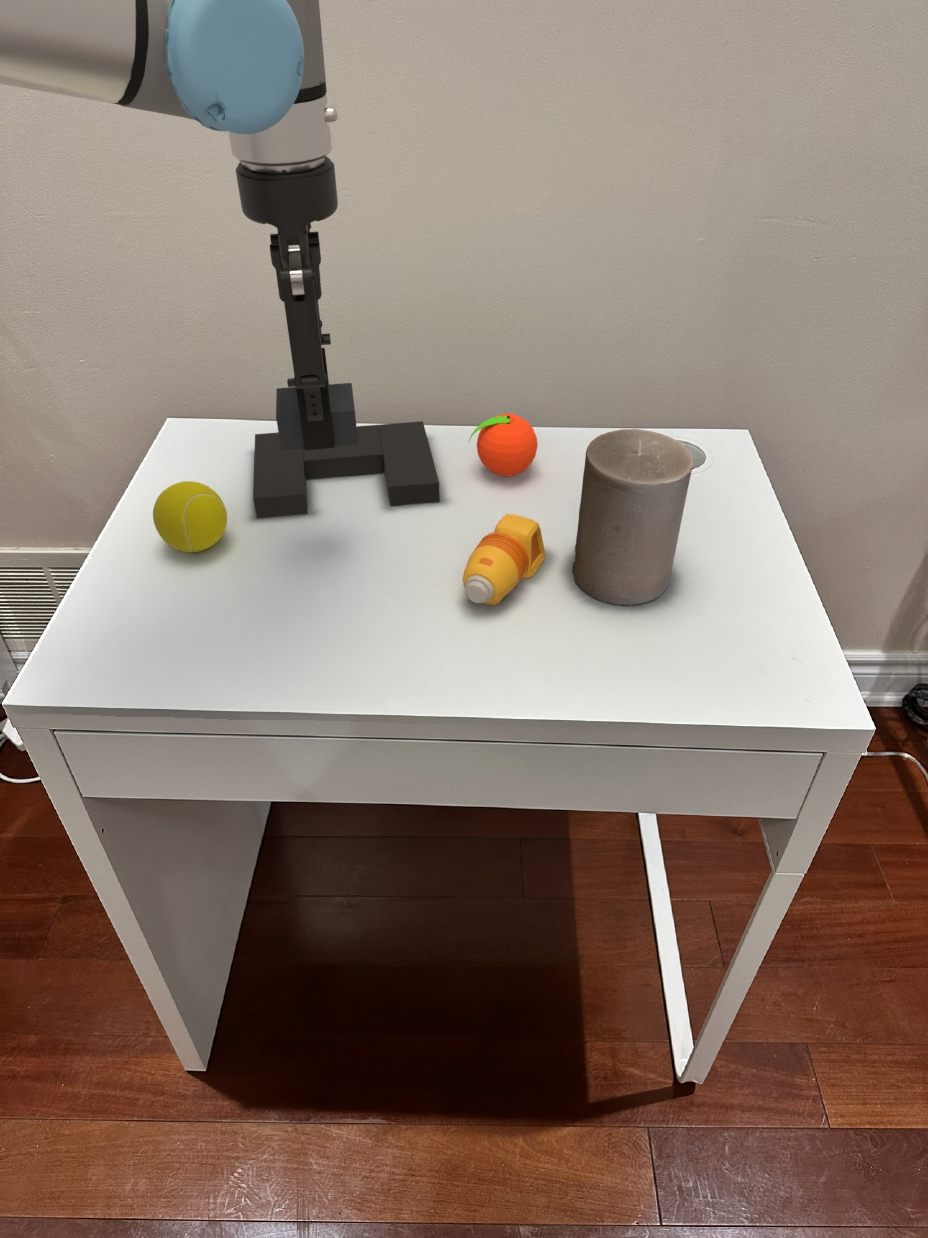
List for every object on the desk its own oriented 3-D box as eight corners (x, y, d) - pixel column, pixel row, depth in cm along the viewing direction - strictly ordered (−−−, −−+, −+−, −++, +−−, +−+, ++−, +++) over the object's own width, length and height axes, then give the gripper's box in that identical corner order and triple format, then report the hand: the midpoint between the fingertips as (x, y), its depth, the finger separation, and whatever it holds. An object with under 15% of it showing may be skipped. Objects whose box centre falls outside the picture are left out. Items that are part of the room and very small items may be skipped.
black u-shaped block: (256, 518, 95) (252, 498, 93) (258, 452, 105) (255, 433, 104) (439, 501, 97) (439, 482, 96) (423, 439, 108) (422, 420, 106)
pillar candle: (552, 568, 88) (563, 435, 78) (623, 535, 93) (642, 405, 83) (618, 620, 82) (640, 482, 72) (691, 582, 87) (721, 448, 77)
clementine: (475, 492, 99) (476, 435, 94) (461, 461, 104) (461, 406, 99) (543, 483, 100) (547, 427, 96) (525, 453, 105) (528, 398, 101)
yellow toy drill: (501, 625, 82) (549, 554, 90) (502, 579, 78) (552, 510, 86) (449, 609, 84) (501, 541, 92) (448, 563, 80) (502, 496, 88)
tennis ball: (245, 540, 92) (234, 483, 87) (193, 573, 87) (178, 515, 83) (201, 518, 95) (187, 461, 90) (148, 548, 91) (131, 491, 86)
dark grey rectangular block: (281, 450, 80) (275, 416, 78) (281, 421, 84) (276, 387, 82) (358, 444, 81) (354, 409, 79) (354, 415, 85) (351, 382, 83)
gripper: (338, 191, 61) (365, 479, 76) (329, 128, 74) (353, 382, 90) (228, 196, 60) (277, 486, 75) (239, 131, 74) (279, 388, 89)
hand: (318, 429), depth 82 cm, fingers closed on dark grey rectangular block, 5 cm apart
